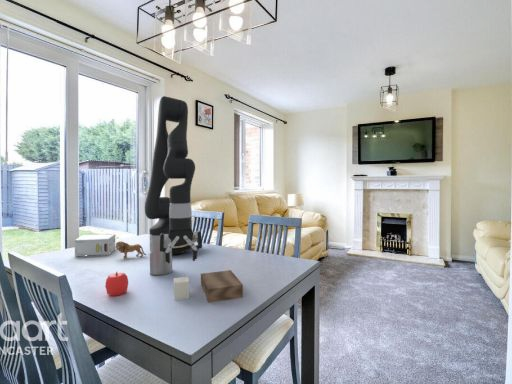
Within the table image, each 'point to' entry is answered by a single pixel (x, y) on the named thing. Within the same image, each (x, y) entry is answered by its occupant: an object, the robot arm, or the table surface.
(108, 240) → the supplement box
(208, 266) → the table surface
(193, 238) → the dark brown round bowl
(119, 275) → the apple
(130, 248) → the lion figurine
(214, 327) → the table surface
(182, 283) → the cream block
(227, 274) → the walnut plinth
